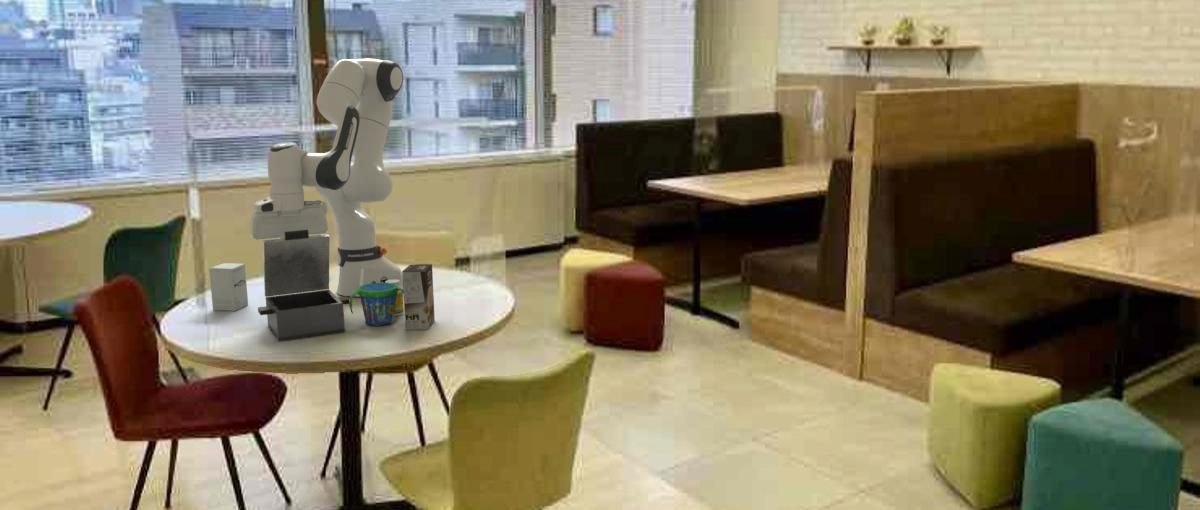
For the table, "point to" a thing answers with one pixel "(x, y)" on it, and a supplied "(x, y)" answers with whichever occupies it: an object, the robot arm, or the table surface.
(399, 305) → the supplement bottle
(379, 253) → the robot arm
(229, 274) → the supplement box
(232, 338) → the table surface
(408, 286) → the coffee box
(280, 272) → the lid
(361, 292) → the snack cup
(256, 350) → the table surface
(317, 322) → the cooker pot
